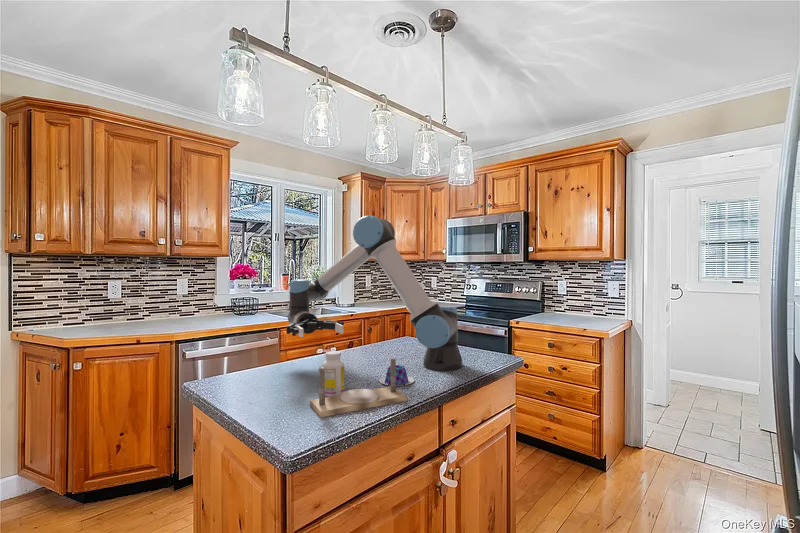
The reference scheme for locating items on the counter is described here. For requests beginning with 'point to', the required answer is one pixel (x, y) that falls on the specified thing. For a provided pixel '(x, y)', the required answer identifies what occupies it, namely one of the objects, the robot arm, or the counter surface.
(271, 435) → the counter surface
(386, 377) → the pudding
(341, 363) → the supplement bottle
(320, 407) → the board
